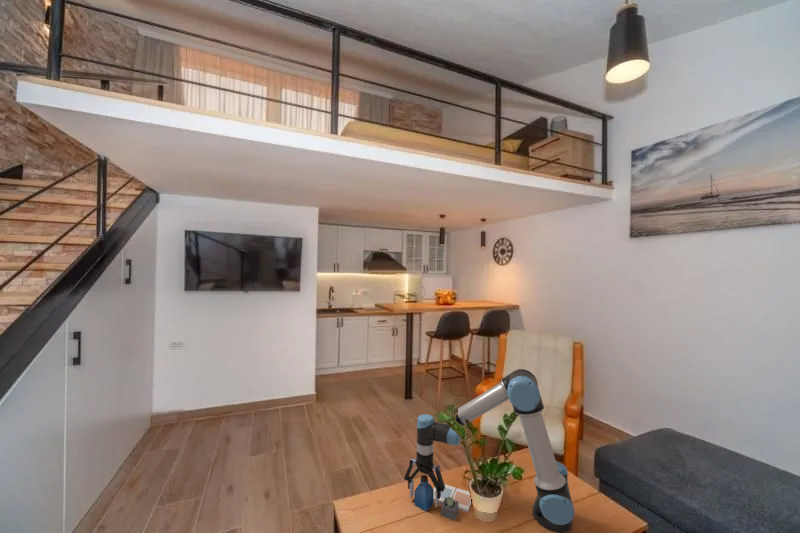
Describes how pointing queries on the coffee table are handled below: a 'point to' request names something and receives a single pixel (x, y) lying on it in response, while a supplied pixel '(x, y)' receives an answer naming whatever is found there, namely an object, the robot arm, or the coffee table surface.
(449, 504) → the button
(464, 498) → the picture board
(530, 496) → the coffee table surface
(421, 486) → the perfume bottle
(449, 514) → the button housing
